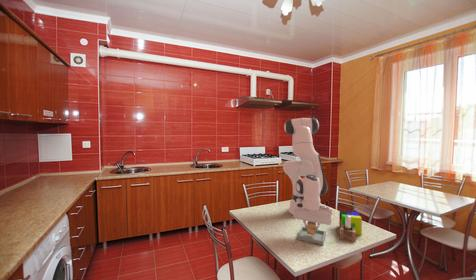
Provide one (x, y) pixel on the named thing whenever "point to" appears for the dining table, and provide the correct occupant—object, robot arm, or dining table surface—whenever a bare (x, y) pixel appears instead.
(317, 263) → the dining table surface
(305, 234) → the tray
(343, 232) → the brown square socket box
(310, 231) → the oak block
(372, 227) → the dining table surface
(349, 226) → the cylinder
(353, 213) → the puzzle toy
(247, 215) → the dining table surface
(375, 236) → the dining table surface
